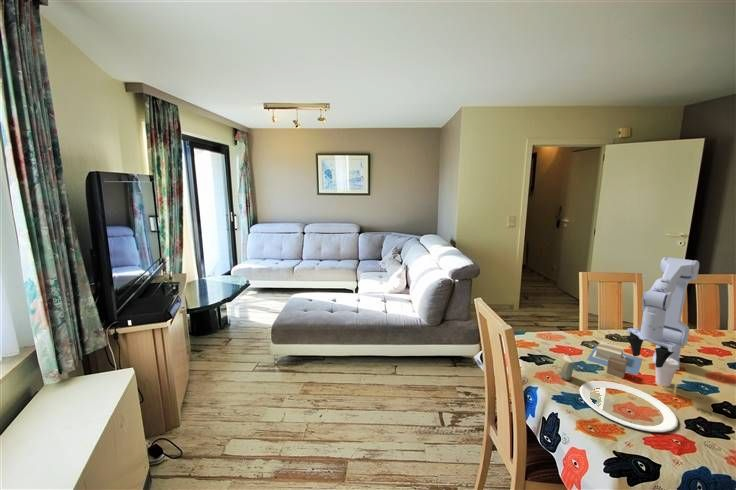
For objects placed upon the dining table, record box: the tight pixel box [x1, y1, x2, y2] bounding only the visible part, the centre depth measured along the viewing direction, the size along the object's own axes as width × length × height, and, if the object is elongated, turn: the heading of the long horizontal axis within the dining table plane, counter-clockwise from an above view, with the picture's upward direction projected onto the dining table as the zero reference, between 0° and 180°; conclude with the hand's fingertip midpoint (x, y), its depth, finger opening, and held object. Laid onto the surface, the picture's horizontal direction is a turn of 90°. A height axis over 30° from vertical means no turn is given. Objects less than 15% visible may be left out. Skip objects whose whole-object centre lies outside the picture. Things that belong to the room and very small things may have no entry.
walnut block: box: [606, 356, 627, 379], centre depth 120 cm, size 5×5×6 cm
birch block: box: [596, 341, 625, 360], centre depth 132 cm, size 8×8×4 cm
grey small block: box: [557, 354, 575, 382], centre depth 118 cm, size 6×5×8 cm
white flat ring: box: [579, 380, 679, 434], centre depth 103 cm, size 25×25×1 cm
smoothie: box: [653, 356, 680, 388], centre depth 113 cm, size 6×6×14 cm
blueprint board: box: [586, 345, 643, 376], centre depth 130 cm, size 17×16×1 cm
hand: (647, 361), depth 112 cm, fingers open, 7 cm apart
